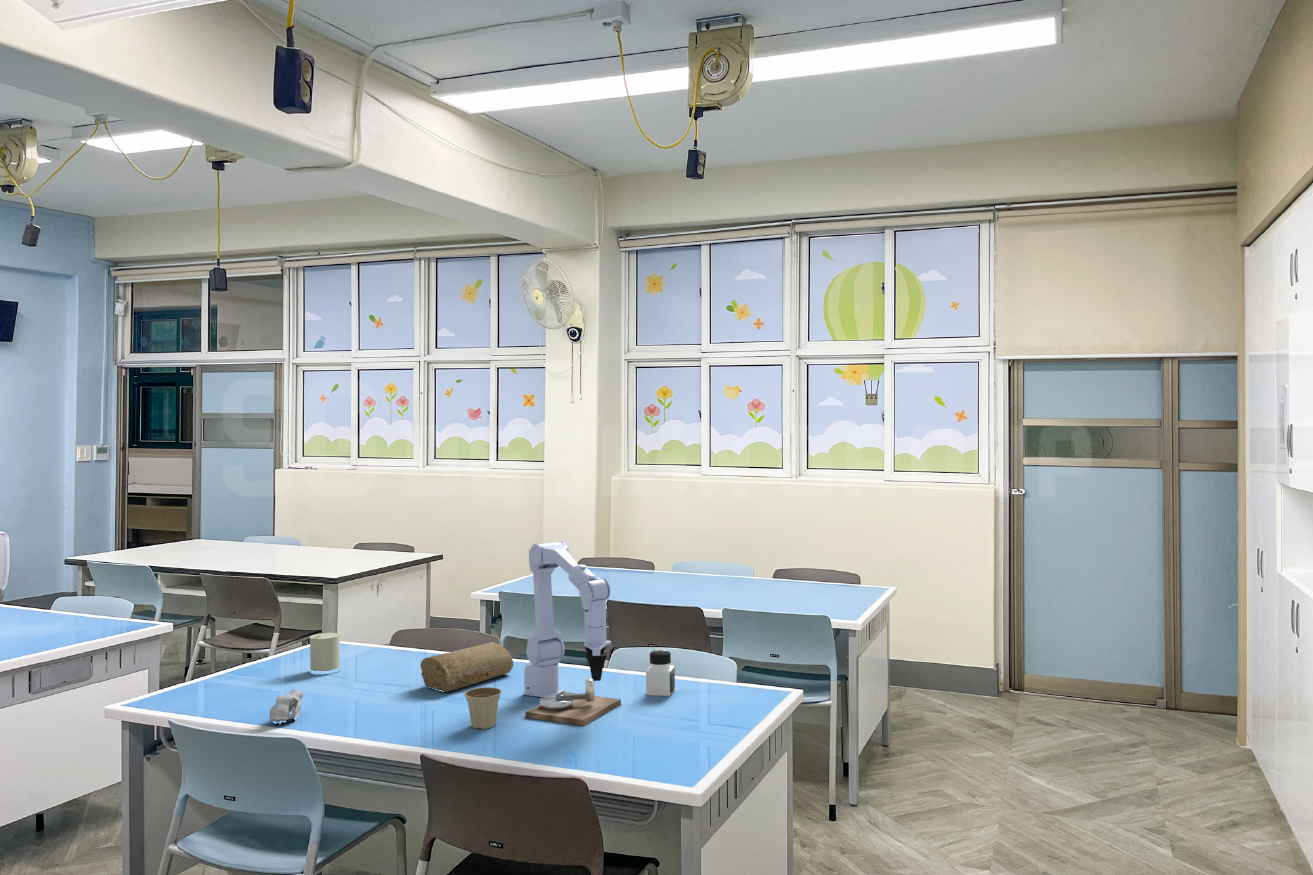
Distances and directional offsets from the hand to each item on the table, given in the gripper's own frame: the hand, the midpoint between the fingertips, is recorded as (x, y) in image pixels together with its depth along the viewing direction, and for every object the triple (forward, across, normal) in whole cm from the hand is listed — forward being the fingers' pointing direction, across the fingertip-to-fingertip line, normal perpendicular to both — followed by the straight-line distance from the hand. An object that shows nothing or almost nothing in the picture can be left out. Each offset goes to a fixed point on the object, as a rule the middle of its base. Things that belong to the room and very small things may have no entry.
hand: (596, 676), depth 241 cm
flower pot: (+11, -4, +29) cm, 31 cm away
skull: (+11, +8, +82) cm, 83 cm away
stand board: (+10, +5, +6) cm, 13 cm away
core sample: (+11, +40, +38) cm, 57 cm away
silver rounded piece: (+9, +5, +8) cm, 13 cm away
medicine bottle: (+11, +20, -19) cm, 29 cm away
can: (+10, +60, +85) cm, 105 cm away
